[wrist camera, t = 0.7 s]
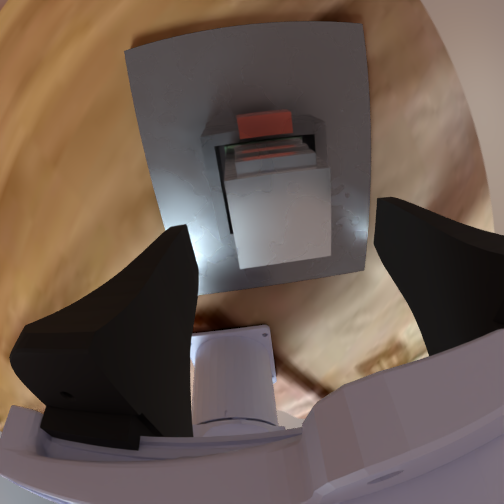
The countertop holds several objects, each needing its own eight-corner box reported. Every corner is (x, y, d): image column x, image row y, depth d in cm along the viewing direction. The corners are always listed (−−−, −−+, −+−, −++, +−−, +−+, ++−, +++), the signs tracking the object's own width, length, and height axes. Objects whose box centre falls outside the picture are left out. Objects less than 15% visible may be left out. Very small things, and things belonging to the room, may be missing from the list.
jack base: (359, 263, 23) (384, 305, 19) (188, 288, 24) (181, 337, 19) (356, 25, 14) (396, 13, 9) (129, 52, 14) (94, 45, 10)
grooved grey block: (300, 196, 19) (332, 257, 13) (235, 205, 19) (238, 271, 13) (295, 124, 16) (332, 152, 10) (223, 133, 16) (218, 166, 11)
